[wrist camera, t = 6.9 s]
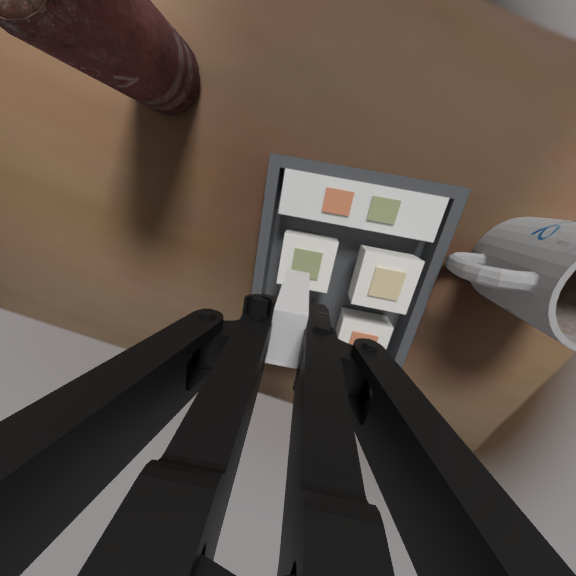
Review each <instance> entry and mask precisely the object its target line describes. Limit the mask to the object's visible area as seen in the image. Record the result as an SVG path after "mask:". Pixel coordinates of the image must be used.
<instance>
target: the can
mask: <svg viewBox="0 0 576 576" xmlns="http://www.w3.org/2000/svg"><path fill="white" fill-rule="evenodd" d="M0 27H2V28H3V29H4V30H5V31H7V32H8V33H9V34H11V35H13V36H15V37H17V38H19V39H20V40H22V41H24V42H26V43H28V44H30V45H32V46H34V47H36V48H38V49H40V50H41V51H43V52H45V53H47V54H49V55H51V56H53V57H55V58H57V59H59V60H60V61H62V62H64V63H66V64H68V65H70V66H72V67H74V68H76V69H78V70H79V71H81V72H83V73H85V74H87V75H89V76H91V77H93V78H95V79H97V80H98V81H100V82H102V83H104V84H106V85H108V86H110V87H112V88H114V89H116V90H117V91H119V92H121V93H123V94H125V95H127V96H129V97H131V98H133V99H135V100H136V101H138V102H140V103H142V104H144V105H146V106H148V107H150V108H152V109H154V110H155V111H158V112H161V113H163V114H174V115H175V114H178V113H180V112H183V111H185V110H186V109H187V108H188V107H189V106H190V105H191V104H192V103H193V101H194V99H195V97H196V95H197V92H198V87H199V82H200V79H199V67H198V64H197V61H196V58H195V55H194V54H193V52H192V50H191V49H190V47H189V46H188V44H187V43H186V42H185V41H184V40H183V38H182V37H181V36H180V35H179V34H178V33H177V31H176V30H175V29H174V28H173V27H172V26H171V24H170V23H169V22H168V21H167V20H166V19H165V17H164V16H163V15H162V14H161V13H160V12H159V10H158V9H157V8H156V7H155V6H154V5H153V3H152V2H151V1H150V0H0Z"/></svg>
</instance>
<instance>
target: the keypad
mask: <svg viewBox="0 0 576 576" xmlns="http://www.w3.org/2000/svg"><path fill="white" fill-rule="evenodd" d="M470 191H471V188H465V187H460V186H454V185H449V184H443V183H438V182H432V181H426V180H421V179H415V178H410V177H404V176H398V175H393V174H387V173H382V172H376V171H370V170H365V169H359V168H354V167H348V166H342V165H337V164H331V163H326V162H320V161H314V160H309V159H303V158H298V157H292V156H286V155H281V154H275V153H270V158H269V165H268V173H267V180H266V188H265V195H264V203H263V210H262V218H261V225H260V233H259V240H258V247H257V255H256V262H255V270H254V277H253V285H252V292H251V294H267V295H273V296H278V295H279V292H280V289H281V286H282V284H277V283H276V282H277V276H278V270H279V264H280V258H281V252H282V246H283V240H284V234H285V232H286V230H287V229H292V230H298V231H303V232H308V233H313V234H319V235H324V236H329V237H334V238H337V239H338V242H339V245H338V249H337V253H336V257H335V261H334V265H333V270H332V274H331V278H330V282H329V286H328V290H327V293H323V292H317V291H312V290H309V302H313V303H318V304H323V305H325V306H326V307H327V308H328V309H329V315H330V322H331V327H333V328H334V329H336V325H337V321H338V317H339V314H340V310H341V307H344V308H349V309H354V310H359V311H364V312H369V313H374V314H379V315H384V316H387V317H388V319H389V321H390V322H391V324H392V326H393V328H394V329H393V332H392V335H391V338H390V340H389V343H388V346H387V349H386V350H387V352H388V353H389V354H390V355H391V356H392V357H393V359H394V360H395V361H396V362H397V363H398V365H399V366H400V367H401V368H402V366H403V364H404V361H405V359H406V356H407V354H408V351H409V348H410V346H411V343H412V341H413V338H414V335H415V333H416V330H417V328H418V325H419V323H420V320H421V317H422V315H423V312H424V310H425V307H426V305H427V302H428V299H429V297H430V294H431V292H432V289H433V286H434V284H435V281H436V279H437V276H438V274H439V271H440V268H441V266H442V263H443V261H444V258H445V255H446V253H447V250H448V248H449V245H450V243H451V240H452V237H453V235H454V232H455V230H456V227H457V224H458V222H459V219H460V217H461V214H462V212H463V209H464V206H465V204H466V201H467V199H468V196H469V194H470ZM361 245H365V246H370V247H375V248H381V249H386V250H391V251H396V252H402V253H407V254H412V255H415V256H416V257H418V258H420V259H421V260H423V261H425V263H424V266H423V269H422V272H421V274H420V277H419V280H418V283H417V285H416V288H415V291H414V294H413V296H412V299H411V302H410V305H409V307H408V310H407V313H406V315H404V314H399V313H394V312H389V311H384V310H380V309H375V308H370V307H365V306H360V305H355V304H351V302H350V299H349V295H348V291H349V287H350V283H351V279H352V276H353V272H354V268H355V265H356V261H357V257H358V254H359V250H360V246H361Z"/></svg>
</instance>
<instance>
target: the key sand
mask: <svg viewBox="0 0 576 576" xmlns="http://www.w3.org/2000/svg"><path fill="white" fill-rule="evenodd" d="M424 263H425V261H423V260H421V259H420V258H418V257H416V256H415V255H412V254H407V253H402V252H396V251H391V250H386V249H381V248H375V247H370V246H365V245H361V246H360V250H359V254H358V257H357V261H356V265H355V268H354V272H353V276H352V279H351V283H350V287H349V291H348V295H349V299H350V302H351V304H355V305H360V306H365V307H370V308H375V309H380V310H384V311H389V312H394V313H399V314H404V315H406V313H407V310H408V307H409V305H410V302H411V299H412V296H413V294H414V291H415V288H416V285H417V283H418V280H419V277H420V274H421V272H422V269H423V266H424Z"/></svg>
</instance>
